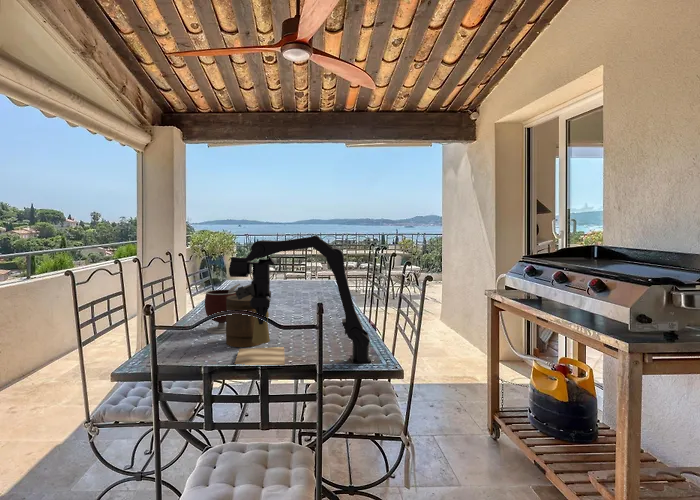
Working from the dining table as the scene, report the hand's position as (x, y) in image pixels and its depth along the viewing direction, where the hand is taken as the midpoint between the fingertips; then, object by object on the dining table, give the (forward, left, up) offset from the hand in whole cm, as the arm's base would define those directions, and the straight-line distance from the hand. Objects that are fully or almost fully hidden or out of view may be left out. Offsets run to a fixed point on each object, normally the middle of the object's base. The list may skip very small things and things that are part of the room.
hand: (261, 322), depth 143 cm
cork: (0, 0, -7) cm, 7 cm away
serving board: (0, 0, -13) cm, 13 cm away
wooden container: (+23, +7, -13) cm, 27 cm away
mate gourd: (+43, +18, -13) cm, 48 cm away
